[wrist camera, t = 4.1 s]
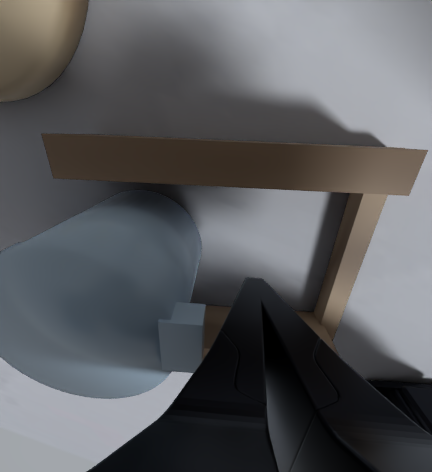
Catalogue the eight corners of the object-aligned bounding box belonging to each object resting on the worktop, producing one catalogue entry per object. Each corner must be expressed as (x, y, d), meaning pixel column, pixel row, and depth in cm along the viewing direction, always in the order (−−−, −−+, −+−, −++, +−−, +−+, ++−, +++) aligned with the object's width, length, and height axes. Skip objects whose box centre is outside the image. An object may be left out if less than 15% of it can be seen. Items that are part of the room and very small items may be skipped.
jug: (212, 293, 13) (200, 410, 7) (63, 282, 13) (-57, 388, 8) (217, 194, 10) (204, 260, 5) (32, 183, 11) (-180, 234, 5)
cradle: (324, 329, 14) (348, 377, 11) (126, 316, 14) (102, 359, 11) (387, 147, 9) (455, 151, 6) (94, 134, 10) (41, 133, 7)
